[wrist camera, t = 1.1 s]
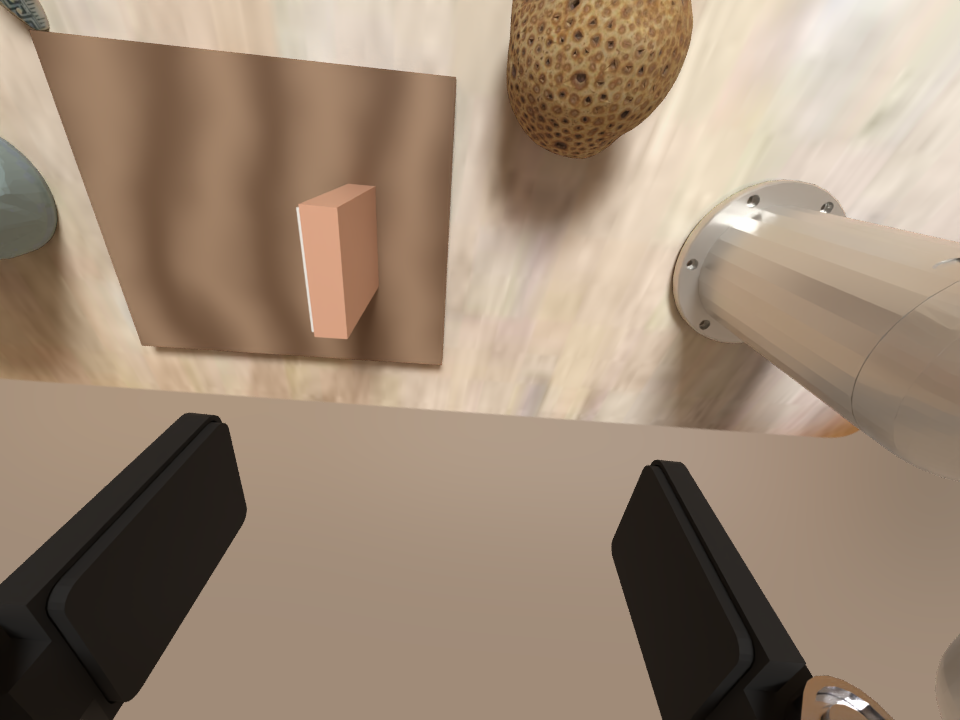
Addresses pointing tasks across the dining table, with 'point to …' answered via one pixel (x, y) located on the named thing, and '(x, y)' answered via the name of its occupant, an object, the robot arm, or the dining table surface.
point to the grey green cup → (23, 205)
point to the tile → (339, 257)
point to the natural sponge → (592, 67)
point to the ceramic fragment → (28, 12)
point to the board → (256, 189)
